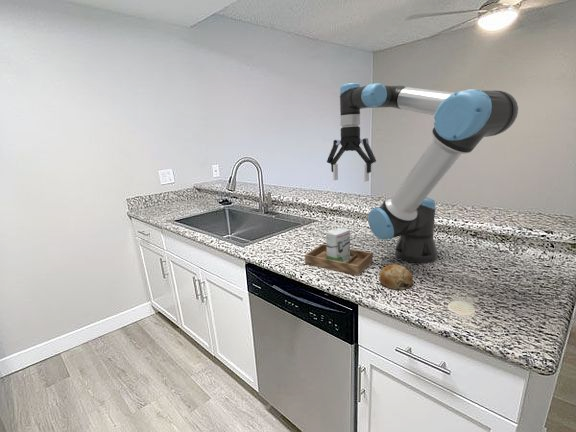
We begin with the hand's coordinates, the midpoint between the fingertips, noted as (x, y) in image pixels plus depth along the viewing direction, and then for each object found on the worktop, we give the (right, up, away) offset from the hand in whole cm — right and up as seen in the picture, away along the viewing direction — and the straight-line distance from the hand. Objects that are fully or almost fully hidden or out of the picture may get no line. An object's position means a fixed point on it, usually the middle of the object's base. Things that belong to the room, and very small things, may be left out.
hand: (350, 180), depth 124 cm
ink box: (-6, -32, -8) cm, 33 cm away
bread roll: (+9, -36, -26) cm, 45 cm away
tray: (-6, -32, -8) cm, 34 cm away
